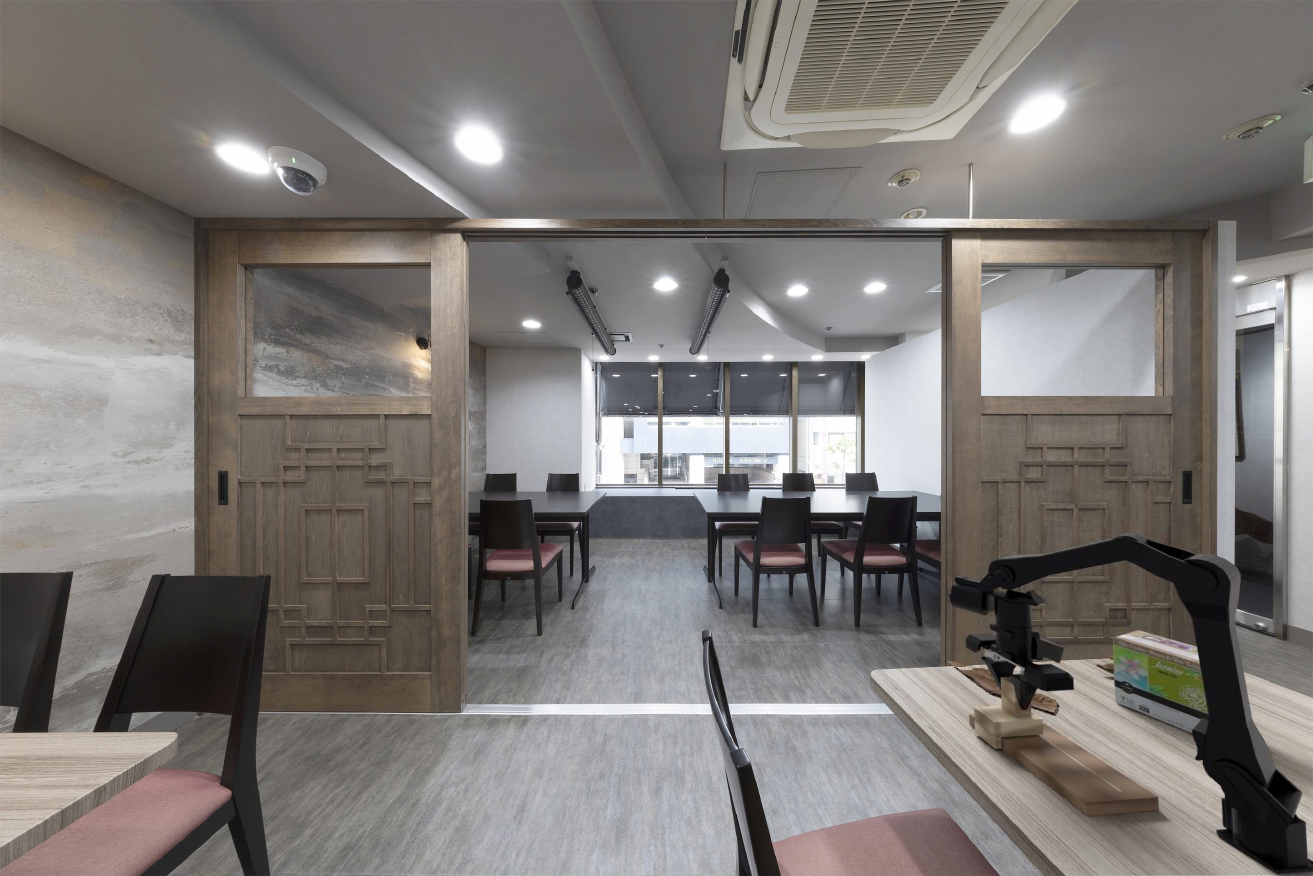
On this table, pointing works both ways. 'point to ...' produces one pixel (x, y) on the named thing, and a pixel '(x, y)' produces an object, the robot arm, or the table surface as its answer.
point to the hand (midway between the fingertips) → (1016, 704)
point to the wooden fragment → (990, 684)
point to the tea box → (1159, 678)
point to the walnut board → (1077, 774)
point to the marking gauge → (1006, 718)
